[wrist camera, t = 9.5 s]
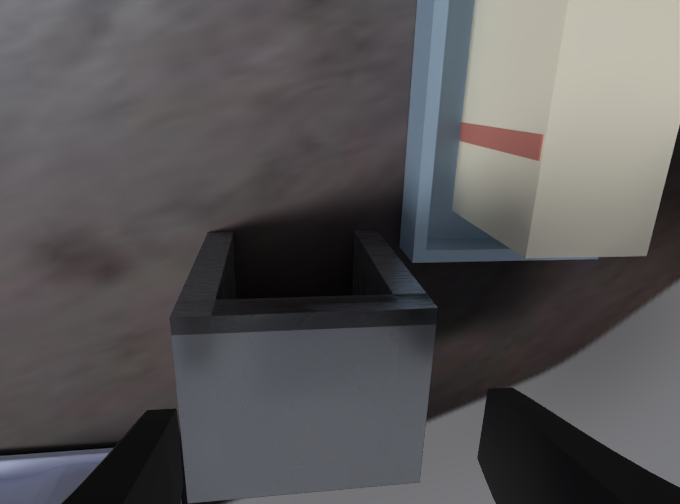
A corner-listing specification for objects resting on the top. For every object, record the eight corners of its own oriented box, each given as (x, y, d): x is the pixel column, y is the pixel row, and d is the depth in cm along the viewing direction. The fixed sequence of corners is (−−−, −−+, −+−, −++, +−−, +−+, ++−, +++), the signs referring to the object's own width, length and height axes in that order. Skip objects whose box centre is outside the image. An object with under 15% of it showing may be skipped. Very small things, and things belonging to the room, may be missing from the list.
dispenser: (216, 362, 21) (187, 503, 14) (207, 232, 19) (169, 317, 12) (370, 354, 22) (419, 482, 15) (377, 230, 20) (438, 307, 13)
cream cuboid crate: (450, 210, 19) (523, 258, 14) (488, -140, 16) (610, -270, 10) (541, 210, 20) (648, 255, 14) (599, -128, 16) (774, -244, 11)
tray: (399, 247, 20) (412, 262, 18) (432, -204, 15) (455, -246, 13) (569, 244, 21) (598, 258, 19) (651, -177, 16) (700, -212, 14)
